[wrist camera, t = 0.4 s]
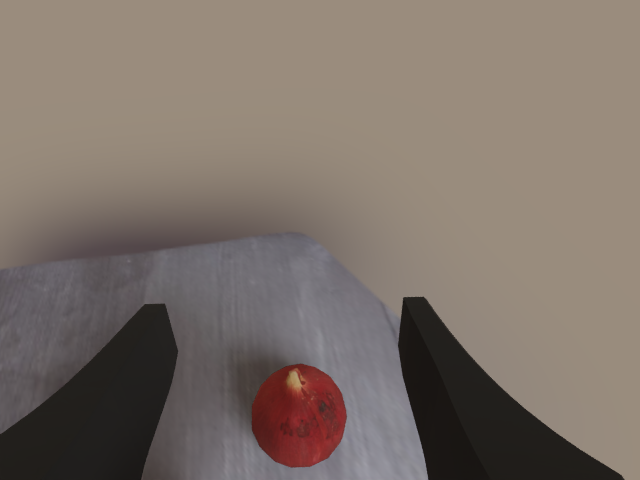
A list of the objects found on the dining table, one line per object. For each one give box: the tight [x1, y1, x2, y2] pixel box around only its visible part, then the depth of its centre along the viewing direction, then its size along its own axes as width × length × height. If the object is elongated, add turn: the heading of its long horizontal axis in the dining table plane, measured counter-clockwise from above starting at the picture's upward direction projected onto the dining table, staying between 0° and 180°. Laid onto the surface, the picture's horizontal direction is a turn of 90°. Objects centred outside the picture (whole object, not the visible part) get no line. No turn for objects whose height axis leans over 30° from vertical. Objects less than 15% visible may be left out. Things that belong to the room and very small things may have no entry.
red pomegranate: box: [252, 364, 347, 467], centre depth 28 cm, size 6×6×8 cm
